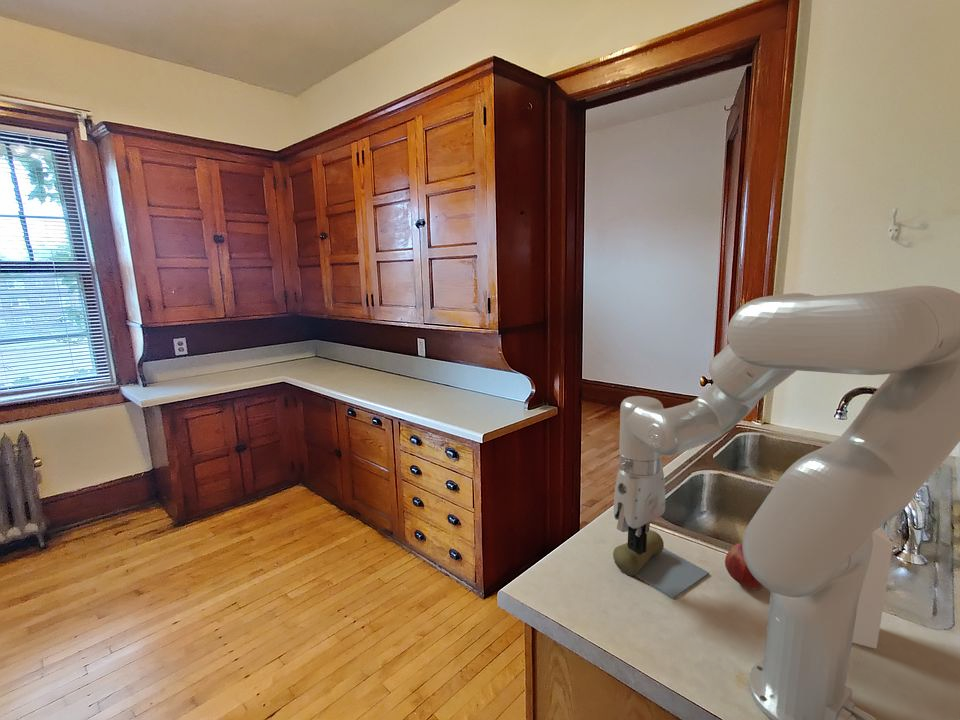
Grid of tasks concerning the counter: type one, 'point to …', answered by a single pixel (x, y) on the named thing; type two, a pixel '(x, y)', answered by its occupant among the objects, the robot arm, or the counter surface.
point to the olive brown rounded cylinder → (633, 561)
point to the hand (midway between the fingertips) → (636, 549)
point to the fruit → (740, 568)
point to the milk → (873, 592)
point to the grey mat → (671, 573)
